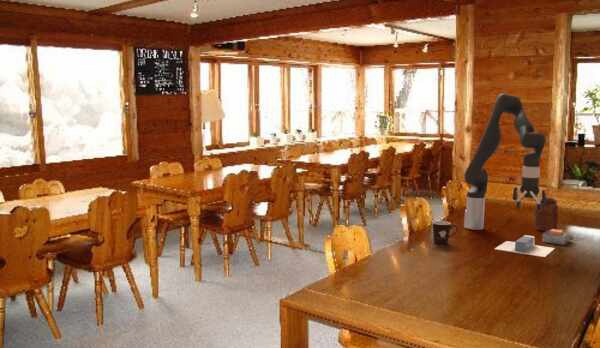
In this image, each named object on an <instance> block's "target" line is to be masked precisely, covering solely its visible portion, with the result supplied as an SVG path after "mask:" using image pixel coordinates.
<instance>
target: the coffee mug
mask: <svg viewBox="0 0 600 348" xmlns="http://www.w3.org/2000/svg"><path fill="white" fill-rule="evenodd" d="M431 224H432V233H433V235H432V237H433V243H434V244H435V245H439V246H440V245H442V246H443V245H448V244H449V239H450V238H452V237H453V236H454V235H455V234H457V233H458V231H459V227H458V225H454V224H453V225H451V222H449V221H447V220H446V221H445V220H444V221H443V220H436V221H435V220H433V221H432V222H431ZM453 227H455V228H456V231H455V232H453V233H452V234H450V230H451V229H452V228H453Z"/></svg>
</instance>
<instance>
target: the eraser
mask: <svg viewBox="0 0 600 348" xmlns="http://www.w3.org/2000/svg"><path fill="white" fill-rule="evenodd" d="M535 239H536V237H535V236H533V235H526V234H524V235H522V237H520V238H518V239H517V240H515V241H514V242H515V251H519V252H526V251H528V250H529V249H531V248H532V247H533V246H534V245H536V244H535V242H536V240H535Z"/></svg>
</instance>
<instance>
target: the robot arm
mask: <svg viewBox="0 0 600 348" xmlns="http://www.w3.org/2000/svg"><path fill="white" fill-rule="evenodd" d="M502 114H508V115H513V117H514V120H513V127H514V128H515V131H516V132H517V133H518V136H519V143H520V145H521V146H522V147H523V148H525V149H533V150H532V151H531V152H527V153H525V154H523V159H522V160H523V161H522V170H521V184H520V185H521V186H520V187H518V186H515V187H514V188H513V193H512V200H514V201H515V202H516V209H517V210H519V211H520V210H521V208H522V201H523V199H524V198H526V199H527V198H528V199H533V200H534V201H536V203H538V204H537V212H540V211H541V207H542V203H545V202H546V197H547V190H546V189H540V176H541V175H540V174H541V172H540V171H541V170H540V169H541V168H540V165H541V164H540V163H541V156H542V153H543V150H544V148H545V146H546V136H545V134H544V133H543V132H535V127H534V126H533V123H532V122H531V121H530V119H529V117H528V116H527V115H526V114H527V113H526V111H525V108H524V106H523V104H522V101H521V99H520V98H519V97H518V96H516V95H512V94H507V93H500V94H499V95H498V96H497V98H496V100H495V103H494V105H493V108H492V111H491V114H490V117H489V120H488V122H487V125H486V127H485V129H484V131H483V134H482V137H481V139H480V141H479V144H478V146H477V148H476V151H475V153H474V155H473V157H472V159H471V161H470V163H469V165H468V166H467V167H466V171H465V173H464V181H465V182H466V184H468V185H470V186H471V185H472V186H471V187H470V188H469V189H468V190H467V192H466V206H465V207H466V209H465V210H464V222H463V223H464V224H463V225H464V227H463V229H464V228H465V229H469V230H476V231H478V230H479V231H481V230H484V223H485V203H486V202H485V201H486V198H485V197H486V193H487V190H488V182H489V181H488V180H489V178H488V177H489V176H488V171H487V169H486V168H485V167H484V165H485V164H486V162H487V161H488V160H489V159H490V158H491V157H492V156H493V155H494V154H495V152H496V151H497V150H498V147H499V146H500V143H501V141H502V130H501V126H500V120H501V117H502V116H503V115H502ZM519 192H520V193H521V194H520V195H519V197H518V194H519ZM539 193H540V195H541V198H540V196H539ZM541 199H542V201H541Z"/></svg>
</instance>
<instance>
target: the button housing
mask: <svg viewBox="0 0 600 348" xmlns="http://www.w3.org/2000/svg"><path fill="white" fill-rule="evenodd" d="M570 234H571V233H570V232H566V231H565V232H564V231H563V234H562V235H555V234H550V230H547V231H544V232H543V233H542V239H541V240H542V241H541V242H543V243H549V244H555V245H562V246H565V245H566V244H567V243H569V241H570Z"/></svg>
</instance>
